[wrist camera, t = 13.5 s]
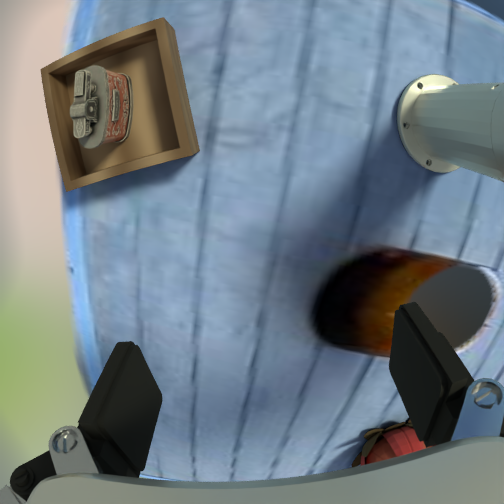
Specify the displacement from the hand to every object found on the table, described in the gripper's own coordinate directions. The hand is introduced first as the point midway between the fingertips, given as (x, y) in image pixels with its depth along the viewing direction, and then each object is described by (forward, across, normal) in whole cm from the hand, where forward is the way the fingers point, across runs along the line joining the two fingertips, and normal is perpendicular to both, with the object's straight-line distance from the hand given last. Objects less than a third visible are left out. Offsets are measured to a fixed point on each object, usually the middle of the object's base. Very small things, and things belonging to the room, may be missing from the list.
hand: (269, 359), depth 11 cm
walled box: (+28, +14, -13) cm, 33 cm away
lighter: (+27, +14, -13) cm, 33 cm away
